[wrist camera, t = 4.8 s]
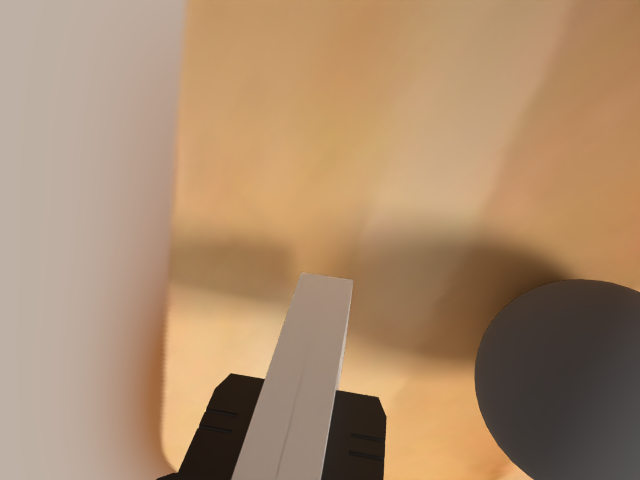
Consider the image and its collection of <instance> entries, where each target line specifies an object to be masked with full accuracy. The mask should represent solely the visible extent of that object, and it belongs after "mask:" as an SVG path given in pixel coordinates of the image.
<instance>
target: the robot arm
mask: <svg viewBox="0 0 640 480" xmlns="http://www.w3.org/2000/svg"><path fill="white" fill-rule="evenodd" d="M353 281H354V280H352V279H345V278H338V277H332V276H325V275H318V274H311V273H304V272H301V274H300V277H299V280H298V283H297V286H296V289H295V292H294V295H293V298H292V301H291V304H290V307H289V310H288V312H287V315H286V318H285V321H284V324H283V327H282V330H281V333H280V336H279V339H278V342H277V345H276V348H275V351H274V354H273V357H272V360H271V363H270V366H269V369H268V372H267V375H266V378H265V379H261V378H255V377H250V376H244V375H238V374H232V373H231V374H230V375H229V376H228V377H227V378H226V379H225V380H224V381H223V382H222V383H220V384H219V385H218V386H217V387H216V388H215V390H214V392H213V395H212V397H211V399H210V401H209V404H208V406H207V408H206V412H205V413H204V415H203V417H202V419H201V422H200V424H199V428H197V431H196V433H195V435H194V437H193V440H192V442H191V444H190V446H189V449H188V451H187V453H186V455H185V458H184V460H183V462H182V464H181V467H180V469H179V471H178V473H172V474H169V475H166V476H163V477H160V478H158V479H156V480H383V477H384V457H385V437H386V415H385V412H384V410H383V407H382V405H381V402H380V400H379V397H374V396H368V395H362V394H356V393H351V392H345V391H339V383H340V377H341V371H342V365H343V359H344V353H345V345H346V337H347V329H348V321H349V313H350V305H351V297H352V289H353Z"/></svg>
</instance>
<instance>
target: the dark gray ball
mask: <svg viewBox="0 0 640 480" xmlns="http://www.w3.org/2000/svg"><path fill="white" fill-rule="evenodd" d="M475 390H476V396H477V400H478V404H479V408H480V411H481V414H482V416H483V419H484V421H485V423H486V426H487V428H488V429H489V431H490V433H491V434H492V436H493V438H494V439H495V441H496V442H497V444H498V446H499V447H500V448H501V449H502V450H503V451H504V453H505V454H506V455H507V456H508V457H509V458H510V460H511V461H512V462H513V463H514V464H515V465H517V466H518V467H519V468H520V469H521V470H522V471H524V472H525V473H526V474H527V475H528V476H530V477H531V478H532V479H534V480H640V292H638V291H635V290H633V289H630V288H627V287H624V286H621V285H617V284H614V283H609V282H604V281H596V280H583V279H580V280H564V281H557V282H553V283H548V284H545V285H542V286H539V287H536V288H534V289H532V290H529V291H527V292H525V293H524V294H522V295H520V296H518V297H517V298H515V299H514V300H513V301H511V302H510V303H509V304H508V305H507V306H505V307H504V308H503V309H502V310H501V311H500V312H499V313H498V314H497V315H496V317H495V318H494V319H493V320H492V322H491V324H490V325H489V327H488V328H487V330H486V332H485V333H484V335H483V338H482V340H481V343H480V346H479V349H478V352H477V357H476V363H475Z"/></svg>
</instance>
